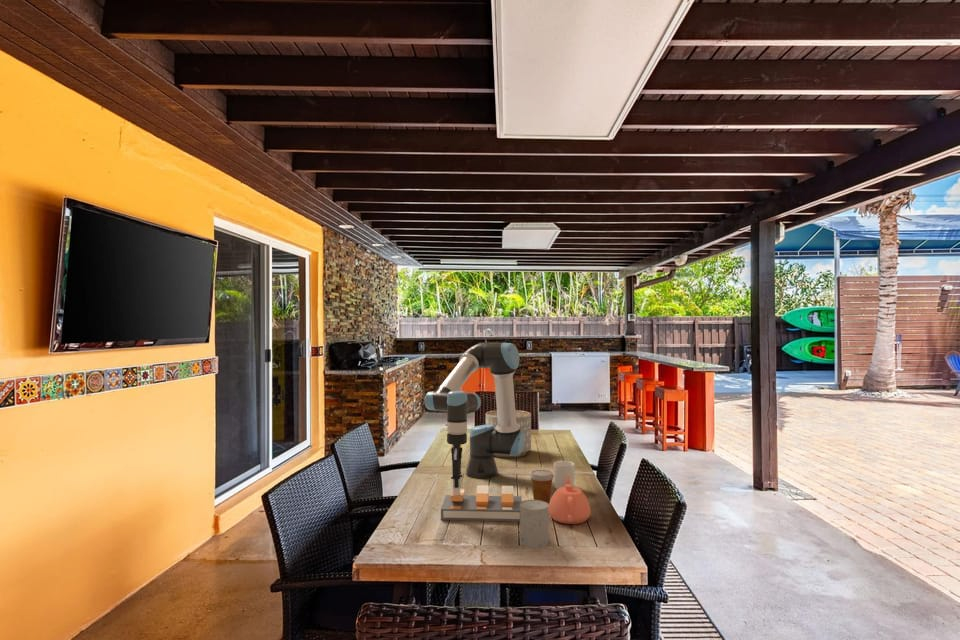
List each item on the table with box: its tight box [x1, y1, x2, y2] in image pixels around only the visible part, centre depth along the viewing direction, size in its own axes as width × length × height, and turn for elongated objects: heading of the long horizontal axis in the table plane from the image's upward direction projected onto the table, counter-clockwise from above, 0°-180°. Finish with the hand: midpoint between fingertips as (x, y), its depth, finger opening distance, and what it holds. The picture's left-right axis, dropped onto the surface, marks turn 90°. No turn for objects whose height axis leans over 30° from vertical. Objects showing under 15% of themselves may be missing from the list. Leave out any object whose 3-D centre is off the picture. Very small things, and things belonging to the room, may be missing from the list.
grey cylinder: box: [519, 499, 550, 549], centre depth 174 cm, size 10×10×12 cm
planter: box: [485, 409, 532, 458], centre depth 294 cm, size 26×26×22 cm
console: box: [440, 494, 523, 523], centre depth 200 cm, size 16×30×5 cm, turn 87°
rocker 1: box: [450, 488, 466, 501], centre depth 200 cm, size 10×4×2 cm, turn 177°
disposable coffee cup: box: [529, 469, 554, 504], centre depth 212 cm, size 10×10×12 cm
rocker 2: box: [475, 484, 490, 506], centre depth 200 cm, size 10×4×2 cm, turn 177°
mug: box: [553, 460, 576, 490], centre depth 231 cm, size 12×9×11 cm
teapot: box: [548, 477, 592, 525], centre depth 195 cm, size 22×16×12 cm
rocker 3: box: [500, 485, 514, 507], centre depth 199 cm, size 10×4×2 cm, turn 177°
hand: (456, 495), depth 197 cm, fingers closed
